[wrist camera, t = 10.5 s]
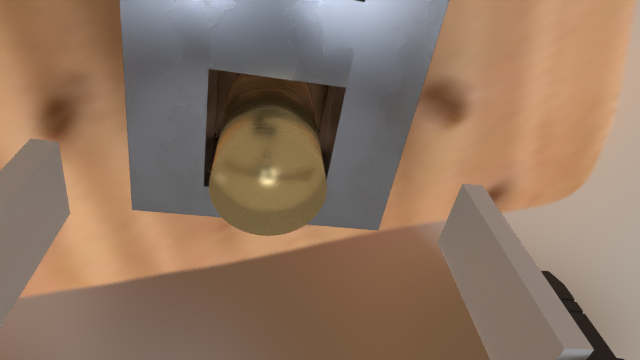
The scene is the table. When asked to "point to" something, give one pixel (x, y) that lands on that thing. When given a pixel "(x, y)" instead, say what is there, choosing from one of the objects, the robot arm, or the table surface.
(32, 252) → the robot arm
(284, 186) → the brass cylinder
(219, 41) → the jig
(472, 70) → the table surface
